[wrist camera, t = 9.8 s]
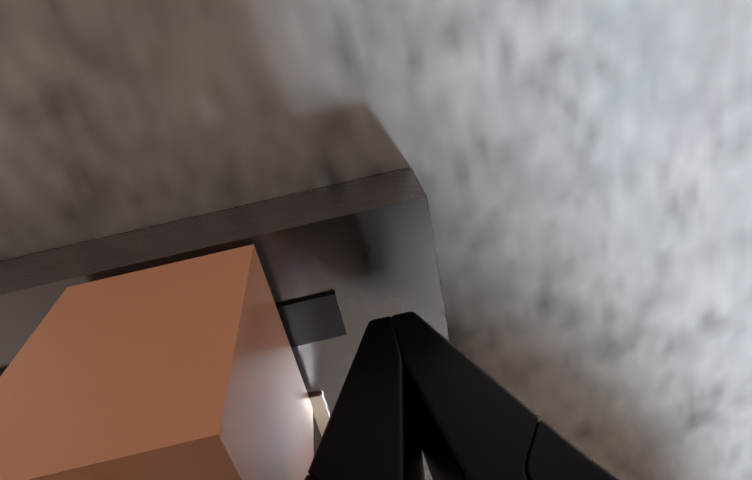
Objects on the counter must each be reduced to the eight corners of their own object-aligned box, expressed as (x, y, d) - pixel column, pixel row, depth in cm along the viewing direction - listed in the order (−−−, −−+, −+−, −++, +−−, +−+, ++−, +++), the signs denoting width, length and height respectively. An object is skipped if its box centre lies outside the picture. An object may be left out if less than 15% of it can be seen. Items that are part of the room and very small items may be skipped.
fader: (254, 244, 9) (215, 446, 5) (312, 408, 10) (317, 641, 7) (67, 287, 8) (-110, 524, 5) (161, 444, 10) (84, 697, 7)
